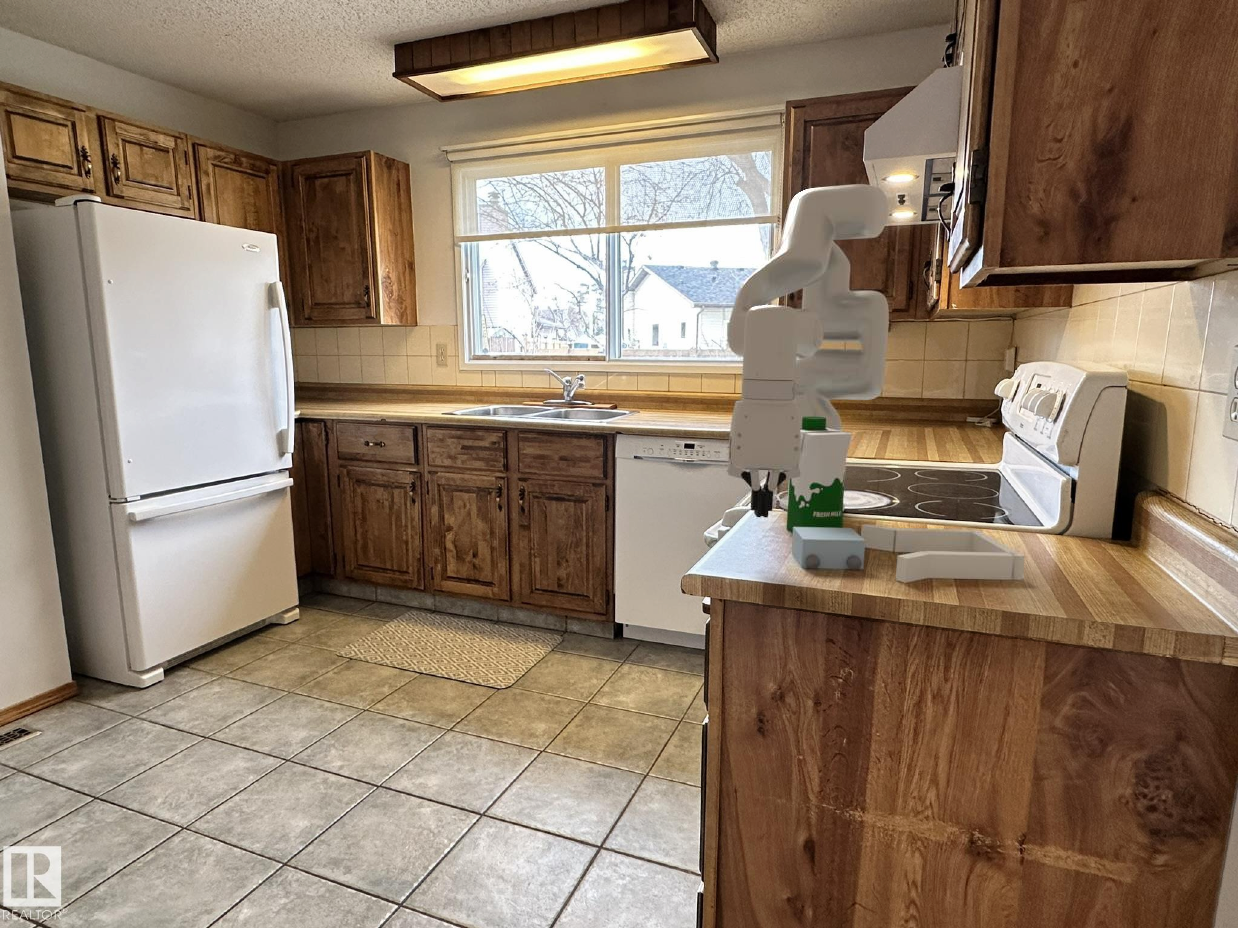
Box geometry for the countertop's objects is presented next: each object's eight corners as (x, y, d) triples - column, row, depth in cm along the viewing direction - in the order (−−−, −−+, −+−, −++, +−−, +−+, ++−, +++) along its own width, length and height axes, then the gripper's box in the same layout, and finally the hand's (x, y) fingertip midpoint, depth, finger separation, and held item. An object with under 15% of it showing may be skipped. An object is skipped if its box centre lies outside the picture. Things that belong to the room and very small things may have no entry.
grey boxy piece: (790, 553, 110) (792, 525, 109) (848, 554, 109) (849, 526, 109) (802, 570, 101) (804, 540, 101) (864, 571, 101) (866, 541, 100)
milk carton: (822, 525, 127) (829, 416, 123) (851, 538, 118) (859, 421, 115) (779, 528, 124) (784, 416, 121) (805, 541, 116) (812, 422, 112)
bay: (857, 544, 114) (859, 523, 114) (968, 546, 114) (970, 525, 113) (899, 582, 96) (901, 558, 95) (1031, 585, 95) (1034, 561, 95)
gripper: (813, 392, 105) (805, 511, 107) (713, 390, 105) (708, 508, 108) (825, 395, 97) (817, 522, 100) (718, 392, 98) (713, 519, 100)
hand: (760, 515), depth 104 cm, fingers closed
